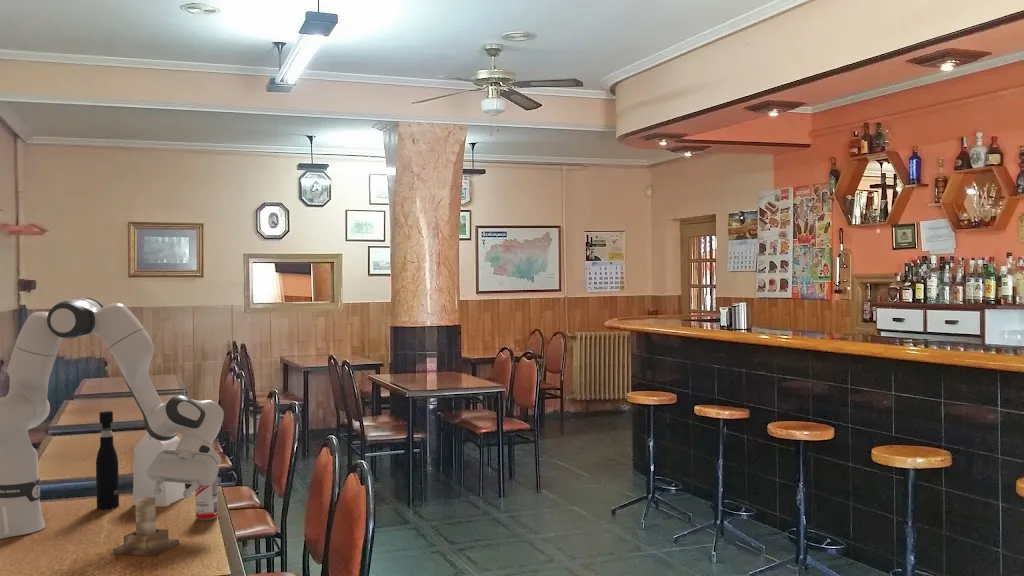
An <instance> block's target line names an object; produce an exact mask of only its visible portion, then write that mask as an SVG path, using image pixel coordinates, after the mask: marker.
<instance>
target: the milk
mask: <svg viewBox="0 0 1024 576" xmlns="http://www.w3.org/2000/svg"><path fill="white" fill-rule="evenodd" d="M180 440H181V438H180V437H178V435H176V436H175V437H174V438H173V439H171V440H168V441H159V440H156V439H154V438H153V437H151V436H150V435H149V433H148V432H146V434H144V436H143V437H142V438H141V439H139V441H138V442H137V443H136V444H135V446H134V450H133V451H134V452H133V477H132V478H133V479H132V480H133V481H132V482H133V483H132V506H134V505H136V502H135V500H138V499H140V498H143V497H151V498H155V505H162V506H161V507H167V506H166V505H168V506H170V505H172V504H171V503H173V502H175V503H176V501H177V502H179V501H181V500H183V499H185V498H186V497H184V496H183V493H184V490H185V489H186V484H185V483H175V482H164V481H163V483H162V484H160V487H161V489H162V492H161V494H160V495H157V494H154V493H153V490H154V488H155V481H154V480H151V479H150V478H149V476H148V475H147V470H148V468H149V466H150V465H151V463H152V462H153V460H154V459H155V458H156V456H157V454H158V453H160V452H162V451H164V450H169V451H175V450H176V448H177V446H178V444H179V442H180ZM180 499H181V500H180ZM178 500H179V501H178ZM169 504H170V505H169ZM173 504H174V503H173Z"/></svg>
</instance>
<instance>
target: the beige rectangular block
mask: <svg viewBox="0 0 1024 576" xmlns="http://www.w3.org/2000/svg"><path fill="white" fill-rule="evenodd" d="M135 502H136V506H135V531H136V536H151V535H153V534H155V533H156V529H157V525H156V523H157V517H156V515H157V513H156V512H157V511H156V507H157V506H155V498H151V497H143V498H140V499H138V500H135Z"/></svg>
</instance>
